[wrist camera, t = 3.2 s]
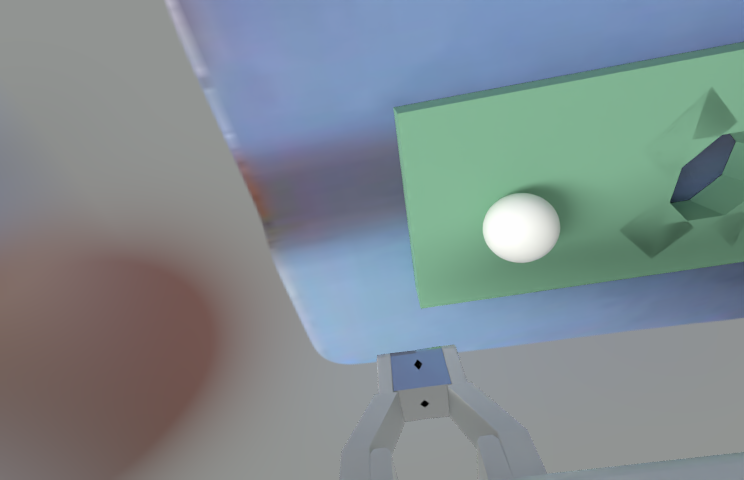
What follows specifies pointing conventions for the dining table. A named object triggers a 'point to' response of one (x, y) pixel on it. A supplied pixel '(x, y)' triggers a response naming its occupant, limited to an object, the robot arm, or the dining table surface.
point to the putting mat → (576, 175)
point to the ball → (521, 227)
